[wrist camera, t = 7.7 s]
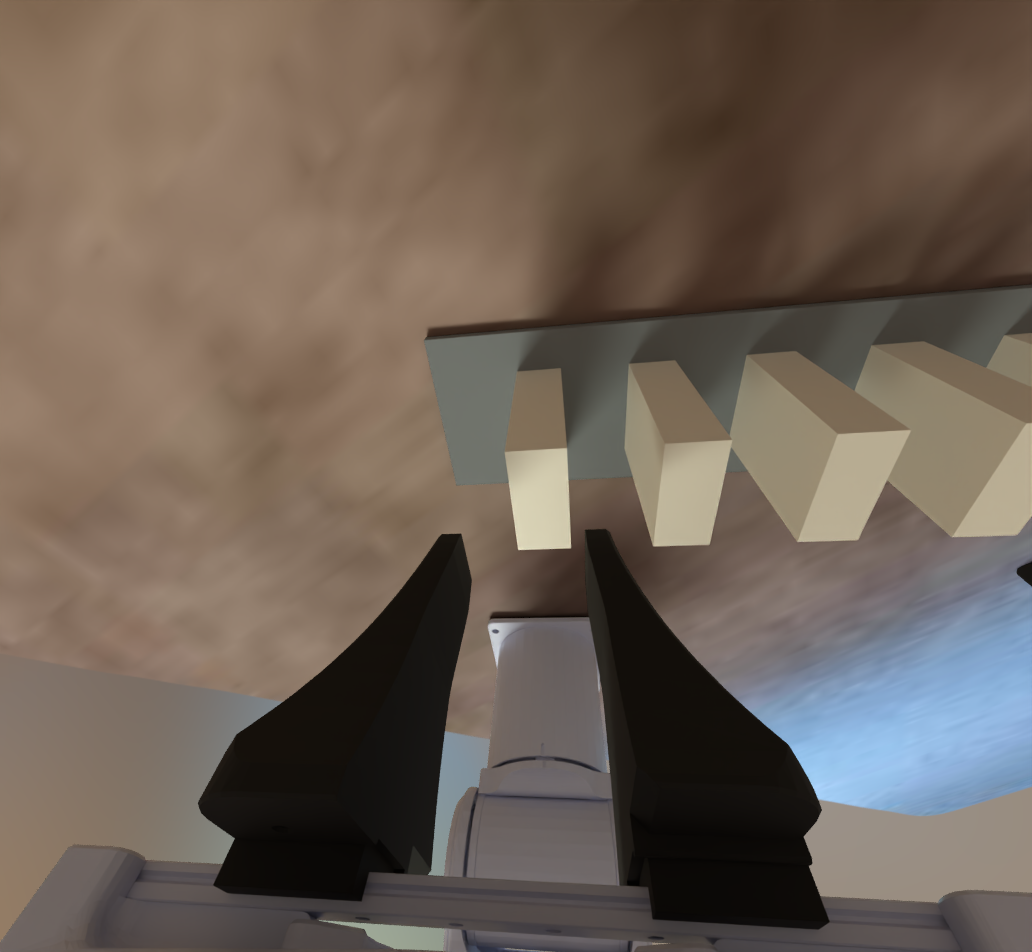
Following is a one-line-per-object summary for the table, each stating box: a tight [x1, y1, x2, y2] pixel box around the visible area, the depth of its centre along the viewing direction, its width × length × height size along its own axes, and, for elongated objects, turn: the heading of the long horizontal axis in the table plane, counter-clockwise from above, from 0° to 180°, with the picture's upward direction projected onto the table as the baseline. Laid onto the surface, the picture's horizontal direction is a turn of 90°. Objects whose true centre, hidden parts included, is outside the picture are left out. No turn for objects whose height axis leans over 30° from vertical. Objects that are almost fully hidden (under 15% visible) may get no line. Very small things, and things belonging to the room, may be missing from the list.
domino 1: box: [505, 368, 571, 550], centre depth 18 cm, size 4×2×7 cm, turn 6°
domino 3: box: [730, 351, 911, 542], centre depth 17 cm, size 4×2×7 cm, turn 6°
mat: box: [424, 285, 1032, 485], centre depth 20 cm, size 8×30×1 cm, turn 96°
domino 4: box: [855, 341, 1032, 537], centre depth 16 cm, size 4×2×7 cm, turn 6°
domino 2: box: [625, 360, 732, 546], centre depth 17 cm, size 4×2×7 cm, turn 6°
